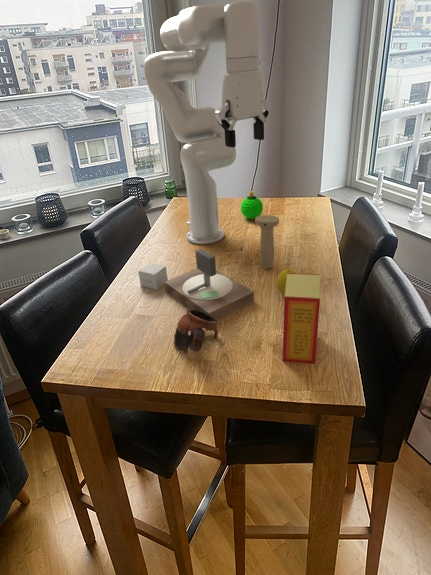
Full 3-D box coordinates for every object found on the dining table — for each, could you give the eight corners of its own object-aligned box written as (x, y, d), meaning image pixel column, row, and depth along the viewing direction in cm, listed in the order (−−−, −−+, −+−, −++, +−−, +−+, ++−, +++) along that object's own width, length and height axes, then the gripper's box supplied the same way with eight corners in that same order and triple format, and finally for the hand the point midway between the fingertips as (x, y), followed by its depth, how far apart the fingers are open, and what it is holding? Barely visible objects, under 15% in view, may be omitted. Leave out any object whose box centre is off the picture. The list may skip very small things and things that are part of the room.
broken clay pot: (168, 336, 98) (180, 303, 96) (206, 346, 100) (218, 314, 99) (174, 357, 86) (187, 321, 85) (216, 368, 89) (229, 333, 88)
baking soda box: (285, 333, 95) (287, 271, 87) (314, 335, 94) (319, 272, 86) (282, 361, 87) (284, 295, 79) (314, 363, 86) (320, 297, 78)
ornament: (257, 223, 150) (256, 196, 145) (237, 220, 154) (236, 194, 149) (266, 216, 156) (266, 189, 151) (246, 213, 160) (246, 187, 155)
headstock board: (165, 291, 114) (164, 281, 113) (207, 273, 121) (206, 264, 120) (210, 323, 100) (209, 313, 99) (254, 301, 107) (253, 291, 106)
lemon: (285, 304, 105) (286, 276, 101) (272, 294, 109) (272, 267, 105) (303, 298, 107) (304, 270, 103) (289, 288, 112) (290, 261, 107)
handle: (276, 272, 119) (277, 222, 112) (254, 270, 121) (253, 221, 114) (279, 264, 123) (280, 216, 116) (257, 262, 125) (257, 214, 117)
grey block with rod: (181, 288, 108) (178, 257, 103) (203, 279, 111) (200, 248, 107) (195, 298, 104) (192, 265, 99) (217, 288, 107) (214, 256, 102)
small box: (168, 280, 119) (166, 265, 117) (156, 290, 115) (154, 274, 112) (152, 277, 122) (149, 261, 119) (140, 286, 117) (137, 271, 115)
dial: (173, 286, 110) (172, 284, 110) (212, 269, 117) (212, 268, 117) (202, 306, 101) (202, 304, 101) (243, 287, 108) (243, 285, 108)
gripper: (257, 63, 104) (259, 135, 113) (203, 70, 95) (209, 147, 104) (280, 62, 99) (279, 138, 108) (224, 69, 90) (229, 151, 99)
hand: (245, 142), depth 106 cm, fingers open, 9 cm apart
